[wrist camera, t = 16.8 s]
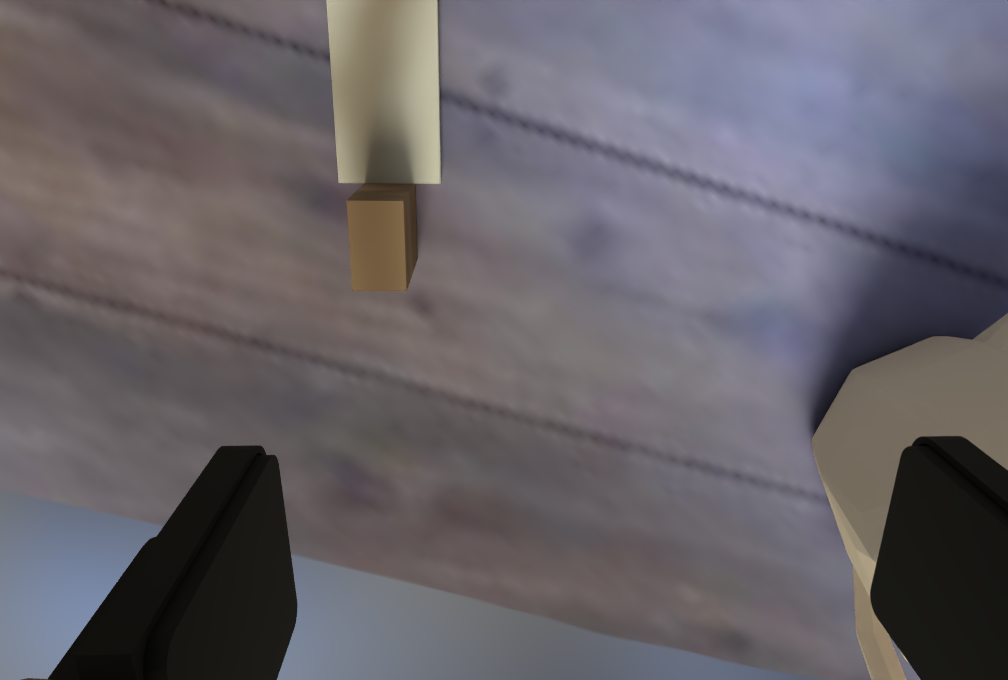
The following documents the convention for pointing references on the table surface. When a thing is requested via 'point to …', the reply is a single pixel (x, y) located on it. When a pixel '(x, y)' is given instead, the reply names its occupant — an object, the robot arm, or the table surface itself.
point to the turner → (385, 128)
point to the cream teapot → (904, 445)
